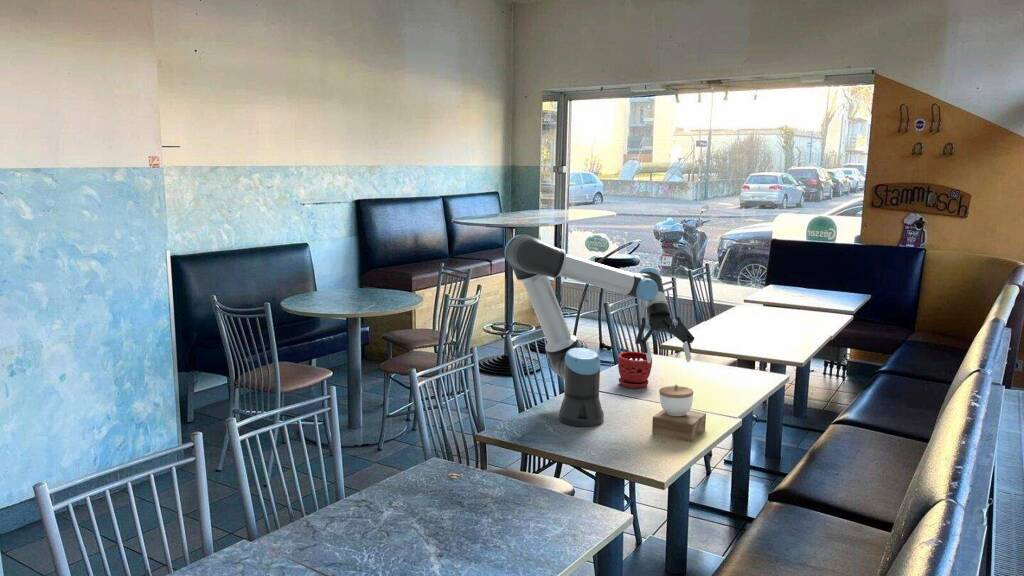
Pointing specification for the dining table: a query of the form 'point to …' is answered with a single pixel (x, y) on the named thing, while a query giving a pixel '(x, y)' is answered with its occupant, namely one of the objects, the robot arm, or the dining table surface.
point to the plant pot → (633, 369)
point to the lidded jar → (676, 400)
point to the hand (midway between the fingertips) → (669, 360)
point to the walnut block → (679, 425)
